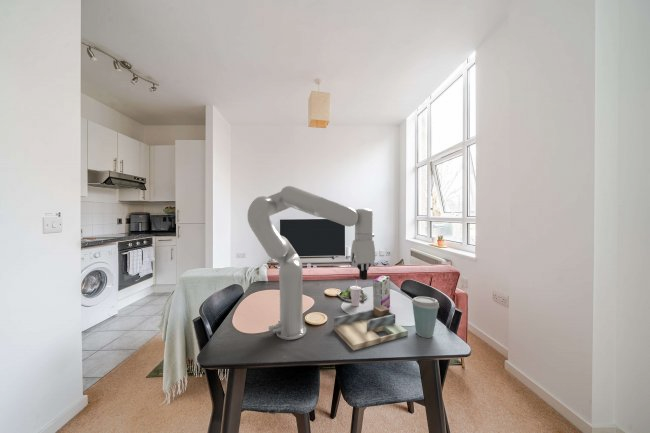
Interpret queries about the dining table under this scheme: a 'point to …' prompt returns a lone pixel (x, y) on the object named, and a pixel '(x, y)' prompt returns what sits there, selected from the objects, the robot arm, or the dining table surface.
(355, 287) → the smoothie
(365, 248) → the robot arm
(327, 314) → the dining table surface
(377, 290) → the candy bar box
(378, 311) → the walnut block
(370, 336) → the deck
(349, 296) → the salad plate
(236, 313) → the dining table surface
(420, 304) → the disposable coffee cup
